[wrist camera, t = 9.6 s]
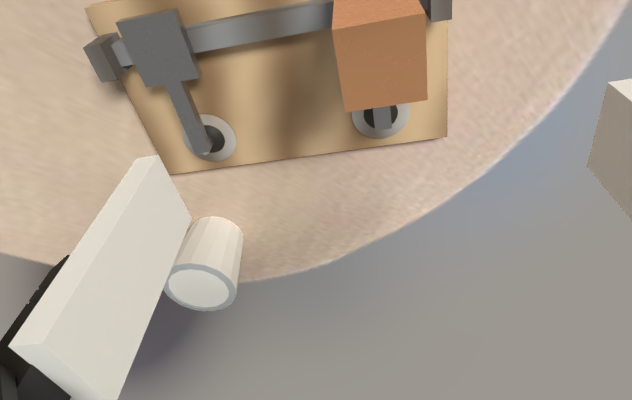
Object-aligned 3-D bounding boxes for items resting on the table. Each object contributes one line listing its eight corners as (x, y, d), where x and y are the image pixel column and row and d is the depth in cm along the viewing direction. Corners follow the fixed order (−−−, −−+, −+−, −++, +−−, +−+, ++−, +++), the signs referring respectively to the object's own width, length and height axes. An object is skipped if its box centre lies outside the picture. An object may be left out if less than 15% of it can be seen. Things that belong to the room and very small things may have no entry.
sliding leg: (356, 123, 32) (360, 216, 23) (333, -29, 25) (327, 23, 17) (408, 116, 31) (432, 208, 23) (398, -42, 25) (427, 4, 16)
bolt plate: (173, 167, 37) (158, 193, 34) (92, 4, 29) (63, 20, 26) (444, 129, 33) (454, 155, 30) (444, -72, 25) (458, -64, 22)
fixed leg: (187, 148, 34) (180, 160, 32) (127, 14, 27) (115, 22, 26) (233, 141, 33) (228, 154, 32) (182, 2, 27) (173, 10, 25)
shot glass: (171, 236, 43) (146, 289, 38) (206, 200, 40) (184, 252, 34) (225, 267, 46) (210, 321, 40) (263, 236, 42) (250, 290, 37)
